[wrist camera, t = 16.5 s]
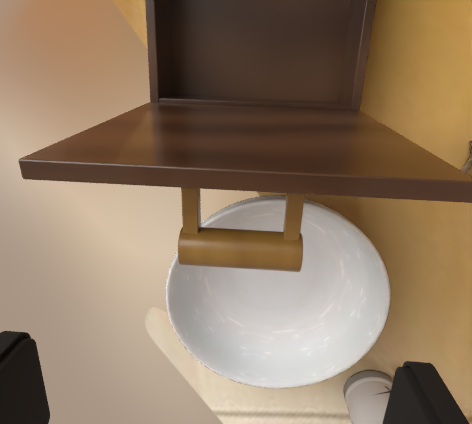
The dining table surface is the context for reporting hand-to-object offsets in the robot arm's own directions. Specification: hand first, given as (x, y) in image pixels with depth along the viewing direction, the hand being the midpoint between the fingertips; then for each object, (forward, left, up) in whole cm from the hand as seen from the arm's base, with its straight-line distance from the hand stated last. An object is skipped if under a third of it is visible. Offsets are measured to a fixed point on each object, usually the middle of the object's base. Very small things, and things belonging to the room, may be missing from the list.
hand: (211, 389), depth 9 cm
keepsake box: (-13, 0, -28) cm, 30 cm away
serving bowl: (+12, +3, -28) cm, 30 cm away
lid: (-5, 0, -13) cm, 14 cm away
